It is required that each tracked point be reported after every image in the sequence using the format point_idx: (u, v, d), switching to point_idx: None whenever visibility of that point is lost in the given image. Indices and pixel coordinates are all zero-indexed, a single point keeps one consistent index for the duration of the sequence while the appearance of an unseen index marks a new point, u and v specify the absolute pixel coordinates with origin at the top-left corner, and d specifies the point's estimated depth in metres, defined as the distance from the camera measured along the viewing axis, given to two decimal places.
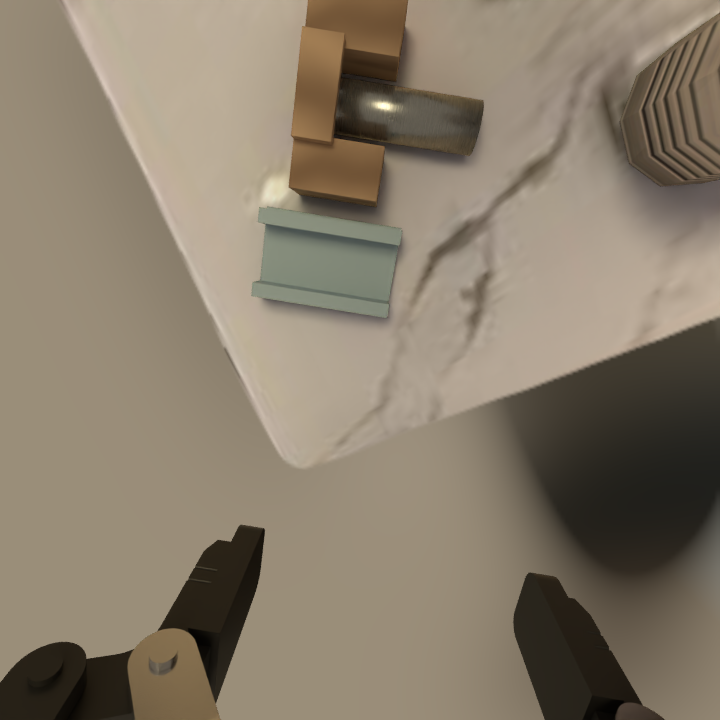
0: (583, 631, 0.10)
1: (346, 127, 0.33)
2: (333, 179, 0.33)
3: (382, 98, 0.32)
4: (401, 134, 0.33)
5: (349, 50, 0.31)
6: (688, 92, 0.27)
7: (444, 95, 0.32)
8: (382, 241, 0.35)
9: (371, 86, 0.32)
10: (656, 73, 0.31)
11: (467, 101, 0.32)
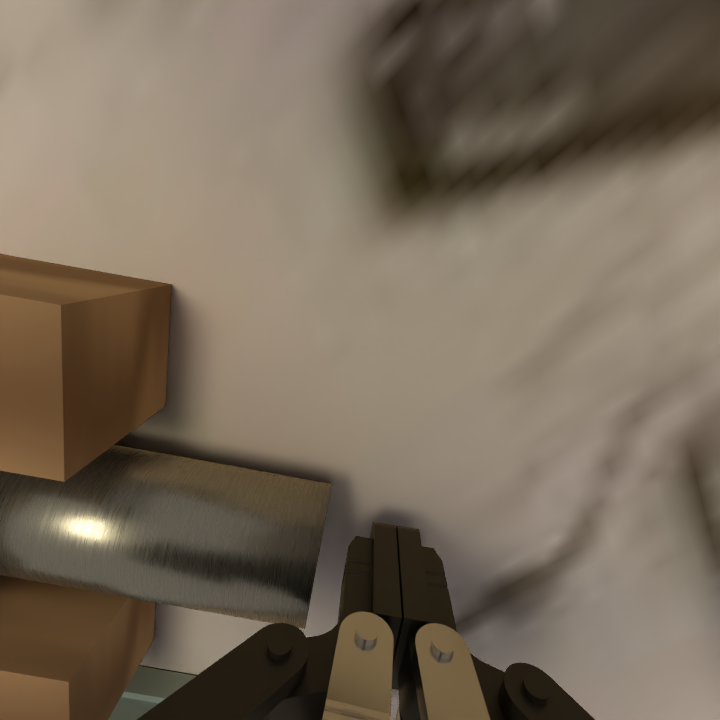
0: (422, 571, 0.11)
1: None
2: None
3: (13, 528, 0.11)
4: None
5: None
6: None
7: (212, 503, 0.11)
8: None
9: None
10: None
11: (272, 533, 0.11)
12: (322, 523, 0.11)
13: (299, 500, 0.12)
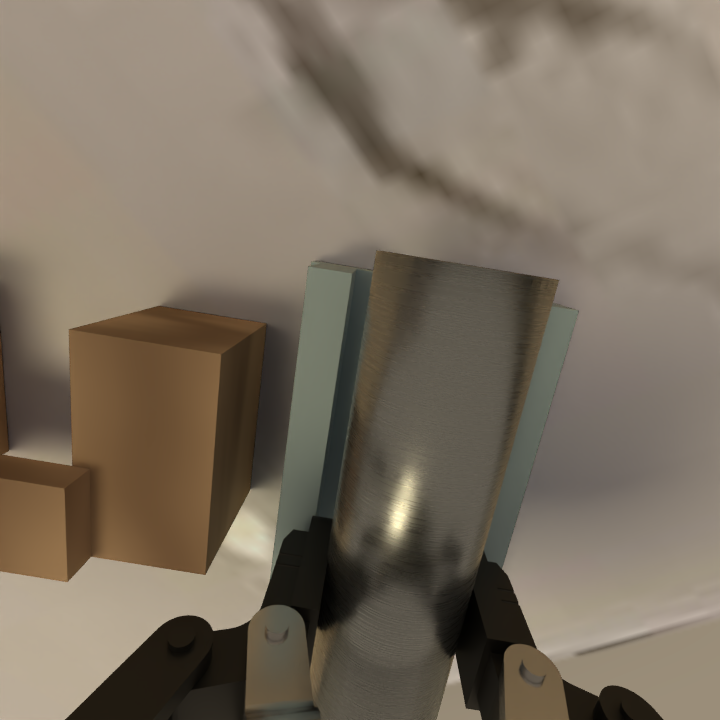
0: (493, 587, 0.11)
1: (447, 671, 0.11)
2: (174, 468, 0.12)
3: (382, 605, 0.10)
4: (484, 532, 0.10)
5: None
6: None
7: (368, 395, 0.09)
8: (341, 326, 0.12)
9: (342, 617, 0.10)
10: None
11: (396, 321, 0.08)
12: (391, 255, 0.08)
13: (374, 288, 0.09)
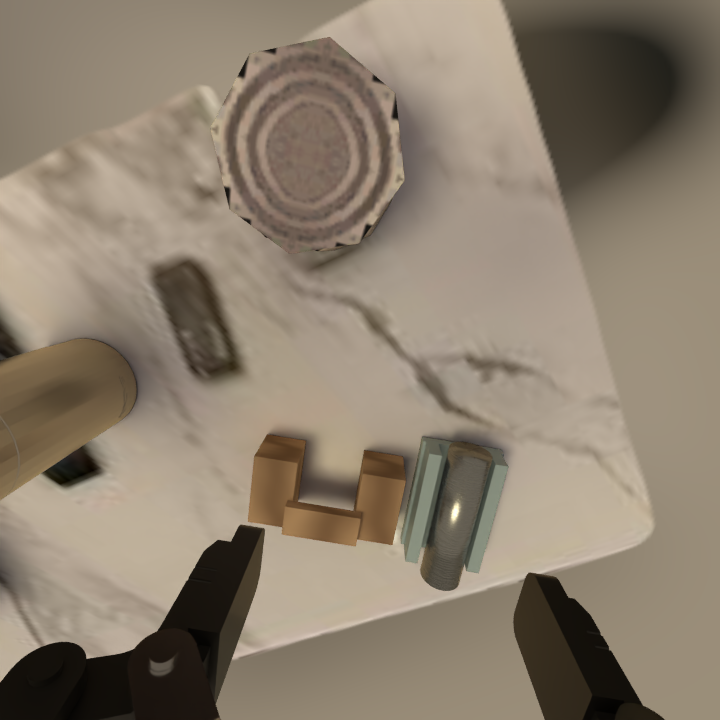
0: (583, 631, 0.10)
1: (465, 555, 0.40)
2: (387, 512, 0.39)
3: (450, 534, 0.39)
4: (475, 517, 0.39)
5: (293, 495, 0.39)
6: (329, 248, 0.30)
7: (447, 483, 0.39)
8: (437, 469, 0.39)
9: (438, 538, 0.40)
10: None
11: (455, 469, 0.38)
12: (454, 454, 0.38)
13: (449, 458, 0.38)
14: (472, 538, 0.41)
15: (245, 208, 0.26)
